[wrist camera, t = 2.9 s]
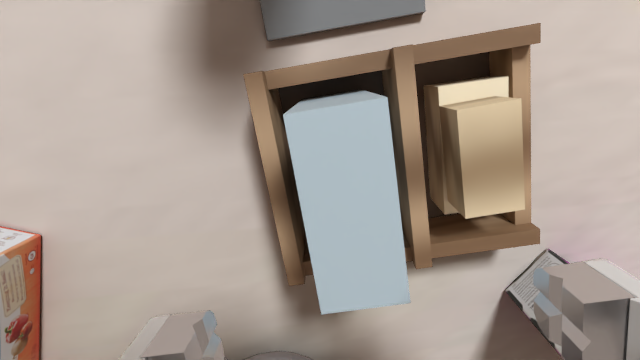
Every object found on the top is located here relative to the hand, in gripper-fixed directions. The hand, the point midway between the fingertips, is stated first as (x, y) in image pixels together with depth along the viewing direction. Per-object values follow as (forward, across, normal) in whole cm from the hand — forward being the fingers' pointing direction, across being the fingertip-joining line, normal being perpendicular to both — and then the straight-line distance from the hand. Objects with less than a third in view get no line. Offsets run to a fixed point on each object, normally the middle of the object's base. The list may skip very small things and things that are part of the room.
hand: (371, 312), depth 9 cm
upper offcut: (+14, -8, 0) cm, 16 cm away
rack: (+17, -3, -1) cm, 17 cm away
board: (+17, 0, -1) cm, 17 cm away
